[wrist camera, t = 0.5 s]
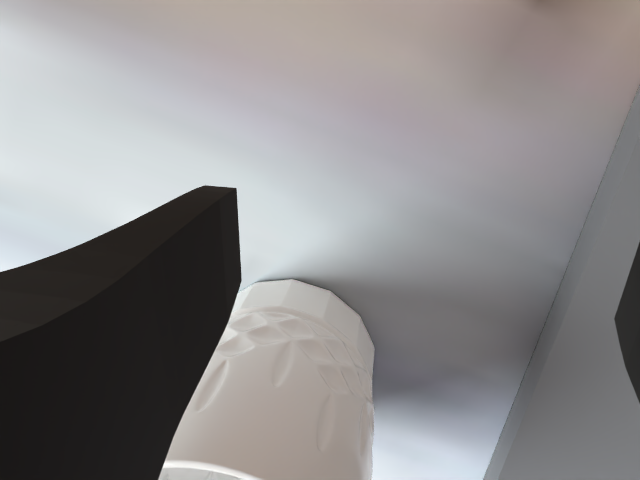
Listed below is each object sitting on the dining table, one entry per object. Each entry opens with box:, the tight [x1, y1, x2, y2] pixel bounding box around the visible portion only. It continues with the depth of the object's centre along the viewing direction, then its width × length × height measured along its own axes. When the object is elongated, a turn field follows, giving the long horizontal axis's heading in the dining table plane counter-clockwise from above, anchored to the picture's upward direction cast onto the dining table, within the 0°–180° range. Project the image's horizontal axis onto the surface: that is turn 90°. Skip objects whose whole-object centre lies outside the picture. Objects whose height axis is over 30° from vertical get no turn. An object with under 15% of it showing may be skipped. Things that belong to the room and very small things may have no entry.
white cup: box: [158, 279, 375, 480], centre depth 20 cm, size 8×8×10 cm
